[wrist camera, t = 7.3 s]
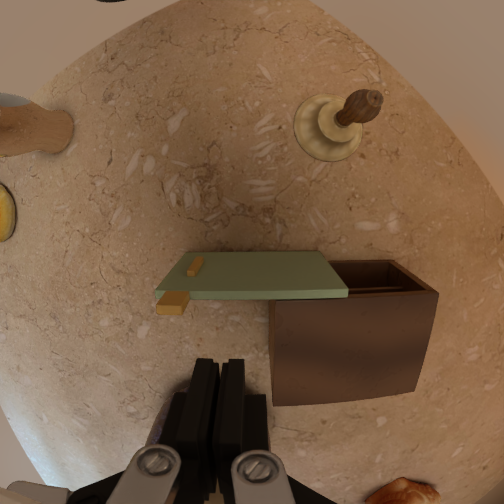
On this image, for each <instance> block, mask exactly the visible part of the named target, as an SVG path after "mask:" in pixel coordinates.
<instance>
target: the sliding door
mask: <svg viewBox="0 0 504 504" xmlns="http://www.w3.org/2000/svg"><path fill="white" fill-rule="evenodd" d="M348 290H349V289H348V288H347V286H346V285H345V284H344V282H343V281H342V280H341V278H340V277H339V276H338V274H337V273H336V272H335V271H334V269H333V268H332V267H331V265H330V264H329V263H328V262H327V260H326V259H325V258H324V256H323V255H322V254H321V253H320V251H274V252H186V253H185V254H184V255H183V256H182V258H181V259H180V260H179V261H178V262H177V264H176V265H175V266H174V267H173V268H172V270H171V271H170V272H169V273H168V275H167V276H166V277H165V278H164V279H163V281H162V282H161V283H160V284H159V286H158V287H157V288H156V289H155V297H156V299H160V300H159V301H158V303H157V304H156V311H157V314H160V315H182V314H183V312H184V310H185V308H186V306H187V304H188V302H189V300H190V299H192V300H270V299H316V298H344V297H348Z"/></svg>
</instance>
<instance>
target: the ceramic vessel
mask: <svg viewBox="0 0 504 504" xmlns="http://www.w3.org/2000/svg"><path fill="white" fill-rule="evenodd" d="M440 501H441V496H440V494H439V493H438V492H437V491H436V490H434V489H432V488H431V487H430V486H429V485H428V484H423V483H417V482H412V481H409V480H407V479H406V478H404V477H401V478H398V479H396V480H394V481H393V482H391V483H389V484H388V485H386V486H384V487H383V488H381V489H380V490H378V491H377V492H375V493H374V494H373V495H371V496H370V497H369V498H367V499H366V500H365V504H440Z"/></svg>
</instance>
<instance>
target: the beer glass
mask: <svg viewBox="0 0 504 504" xmlns="http://www.w3.org/2000/svg"><path fill="white" fill-rule="evenodd" d="M73 131H74V124H73V120H72V117H71V116H70V114H69V113H67V112H66V111H64V110H47V109H45V108H43V107H41V106H39V105H38V104H36V103H34V102H32V101H31V100H28V99H26V98H24V97H21V96H17V95H13V94H7V93H0V158H3V157H12V156H17V155H21V154H25V153H28V152H32V151H37V150H40V151H44V152H46V153H50V154H56V153H59V152H61V151H63V150H64V149H65V148H66V147H67V146H68V144H69V143H70V141H71V139H72V136H73Z"/></svg>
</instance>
